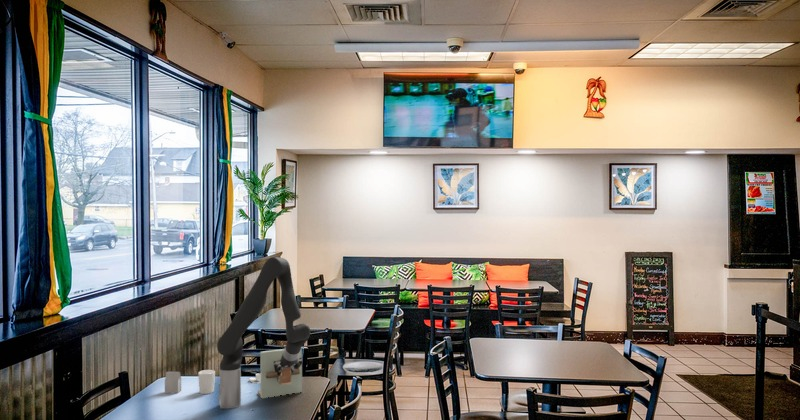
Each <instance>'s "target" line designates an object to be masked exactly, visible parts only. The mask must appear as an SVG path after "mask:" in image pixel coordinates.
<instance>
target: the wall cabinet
mask: <svg viewBox="0 0 800 420" xmlns="http://www.w3.org/2000/svg"><path fill="white" fill-rule="evenodd" d="M279 361H280V360H277V362H279ZM279 365H280V364H279ZM279 365H278V366H279ZM277 382H278V383H279V384H280V385H287V384H291V367H286V368H285V369H284V370H282V371H281V374H280V376H279V378H277Z"/></svg>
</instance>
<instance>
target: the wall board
mask: <svg viewBox="0 0 800 420" xmlns="http://www.w3.org/2000/svg"><path fill="white" fill-rule="evenodd" d="M283 351H284V348H282V349H281V348H280V349H274V350H273V349H272V350H265V351H260V353H259V354H260V358H259V359H260V361H259V362H260V363H259V364H260V365H259V366H260V373H261V381H260V382H261V383H260V390H258V391H257V394H259V395H258V396H259V397H260V399H261V398H262V399H268V397H269V398H274V396H275V397H280V395H282V396H287V395H286V394H289V395H293V394H292V393H295V394H301V393H300V392H302V393H303V363H302V364H301V366H300V367H299V368H298V369H295V370H294V371H293V373H292V374H291V384H287V385H280V384H279V383H278V382H277V378H279V376H278V375H277V372H275V368H274V361H276V362H277V360H281V357H282V354H283ZM299 358H302V359H303V347H301V350H300V355H299V357H298V359H299ZM294 365H295V364H294Z"/></svg>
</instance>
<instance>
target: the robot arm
mask: <svg viewBox="0 0 800 420" xmlns="http://www.w3.org/2000/svg"><path fill="white" fill-rule="evenodd" d="M291 271H292V270H291V265H290V263H289V261H288V260H287V259H286V258H285V257H276V256H273V257H269V258H267V260H266V261H265V262H264V263H263V266H262V267H261V270H260V272H259V273H258V274H259V275H258V277H257V279H256V280H255V281H254V283H253V285H252V287H251V289H250V290H249V292H248V294H247V295H246V297H245V298H244V300H243V301H242V303H241V305H240V307H239V308H238V309H237V312H236V313H235V315H234V317H233V319H232V321H231V322H230V324H229V325H228V326H227V328H226V330H225V331H224V332H223V333H222V335H221V336H220V338H219V339H218V341H217V344H216V347H217V351H218V353H219V355H222V359H221V361H220V363H219V384H218V406H219V407H220V409H233V408H239V407H240V406H241V405H242V403H241V402H242V394H241V393H242V389H241V388H242V387H241V385H242V383H241V382H242V381H241V379H242V377H241V376H242V372H241V371H242V370H241V369H242V366H241V364H242V361H243V352H244V351H243V348H244V347H243V346H244V345H243V343H244V342H243V338H242V336H243V334H244V333H245V332H246V331H247V330H248V328H249V327H250V326H251V325H252V324H253V323H254V322H255V320H256V319H257V318H258V317H259V316H260V314H261V312H262V310H263V309H264V307H265V305H266V302H267V297H268V296H267V295H268V290H269V289H270V286H271V285H272V284H273V282H274V280H275V279H276V278H277V280H278V283H279V286H280V305H281V310H282V312H283V315H284V319H285V336H286V339H287V341H286V344H285V346H284V348H283V349H284V351H283V354H282V357H281V360H280V361H279V362H276V361H274V368H275V372H277V375H278V376H280V374H281V371H282V370H284V369H285V368H286V367H291V374H292V373H293V371H294V370H295V369H298V368H299V367H300V366H301V364H302V365H303V357H302V358H299V359H298V357H299V355H300V350H301V348H303V345H305V344H306V342H307V341H308V340H309V338H310V336H311V328H310V326H309V325H308V324H307V323H299V324H296V325H294V322H295V321H298V320H299V319H300V318H301V312H300V308H299V307H300V306H299V305H298V301H297V298H296V295H295V290H294V285H293V278H292V272H291ZM279 364H280V365H279ZM294 364H295V365H294ZM278 365H279V366H278Z"/></svg>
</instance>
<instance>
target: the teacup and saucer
mask: <svg viewBox="0 0 800 420" xmlns="http://www.w3.org/2000/svg"><path fill="white" fill-rule="evenodd" d="M248 381H249V382H251V383H252V384H257V383H258V384H261V372H258V373H255V377H249V378H248Z"/></svg>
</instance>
